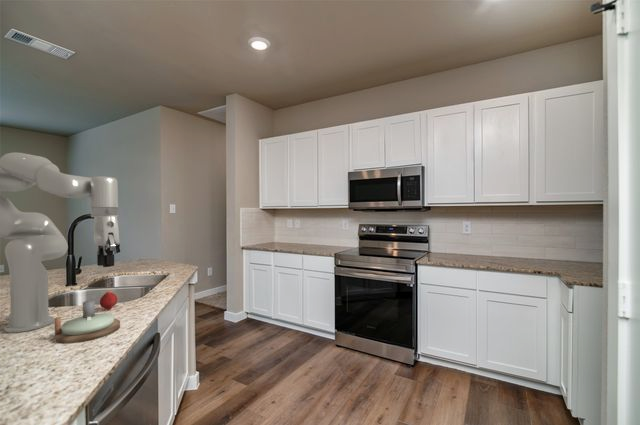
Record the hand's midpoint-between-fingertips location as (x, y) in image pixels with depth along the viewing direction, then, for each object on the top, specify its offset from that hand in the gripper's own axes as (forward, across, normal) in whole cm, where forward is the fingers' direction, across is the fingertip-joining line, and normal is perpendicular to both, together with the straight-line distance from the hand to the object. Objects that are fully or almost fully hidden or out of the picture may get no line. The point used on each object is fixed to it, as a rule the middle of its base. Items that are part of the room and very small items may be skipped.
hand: (105, 265), depth 102 cm
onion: (+22, +21, -7) cm, 31 cm away
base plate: (+21, 0, +5) cm, 22 cm away
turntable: (+20, 0, +5) cm, 20 cm away
